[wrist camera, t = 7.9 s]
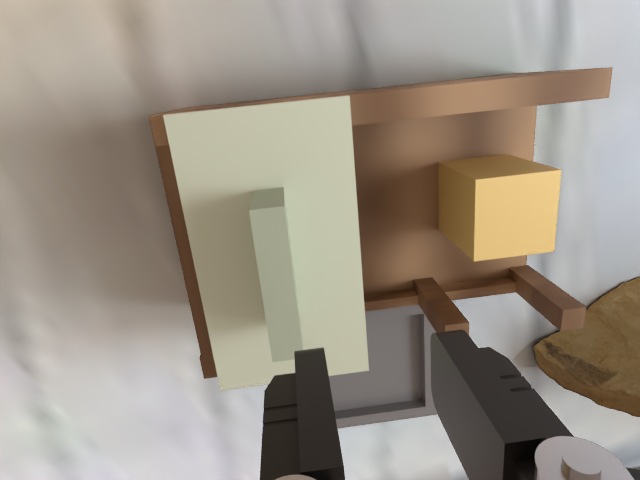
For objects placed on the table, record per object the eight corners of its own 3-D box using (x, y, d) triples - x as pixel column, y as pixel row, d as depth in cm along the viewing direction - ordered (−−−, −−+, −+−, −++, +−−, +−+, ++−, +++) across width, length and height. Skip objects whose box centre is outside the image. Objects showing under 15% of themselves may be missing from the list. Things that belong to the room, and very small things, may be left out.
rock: (532, 421, 31) (679, 429, 30) (603, 434, 23) (804, 445, 22) (518, 271, 34) (649, 276, 34) (575, 236, 26) (749, 242, 26)
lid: (346, 95, 17) (363, 97, 14) (365, 360, 22) (382, 415, 18) (168, 114, 17) (138, 121, 13) (222, 380, 21) (210, 439, 18)
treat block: (507, 154, 25) (561, 169, 20) (504, 221, 26) (554, 251, 21) (438, 162, 24) (475, 179, 20) (438, 229, 26) (473, 261, 21)
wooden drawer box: (521, 72, 25) (614, 67, 18) (510, 270, 29) (583, 327, 22) (185, 107, 24) (145, 116, 17) (223, 306, 28) (204, 378, 21)
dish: (428, 291, 29) (435, 301, 28) (430, 401, 32) (437, 414, 31) (295, 308, 29) (295, 318, 28) (309, 417, 32) (310, 432, 31)
